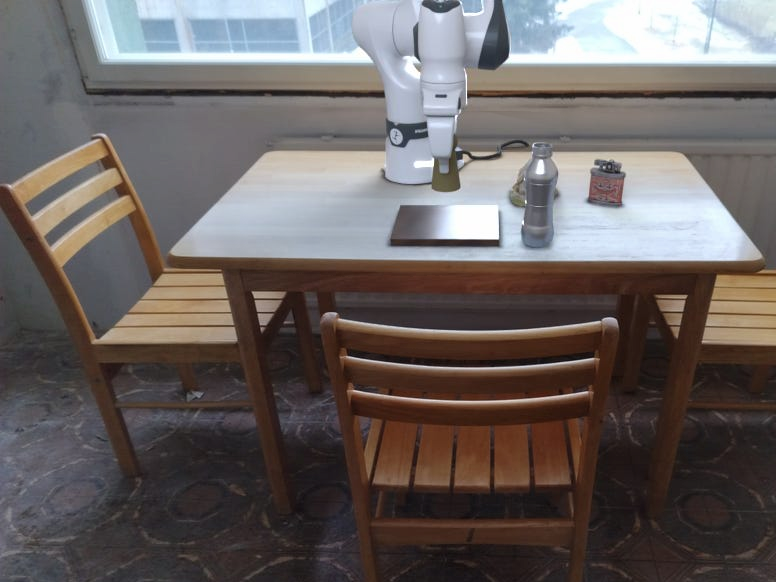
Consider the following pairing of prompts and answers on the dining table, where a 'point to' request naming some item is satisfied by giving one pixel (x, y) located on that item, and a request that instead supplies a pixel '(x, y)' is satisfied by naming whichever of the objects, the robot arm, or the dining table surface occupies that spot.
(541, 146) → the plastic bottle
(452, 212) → the walnut board
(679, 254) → the dining table surface
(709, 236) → the dining table surface
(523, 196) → the ceramic model
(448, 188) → the olive tapered cylinder
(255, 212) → the dining table surface
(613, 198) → the lighter
